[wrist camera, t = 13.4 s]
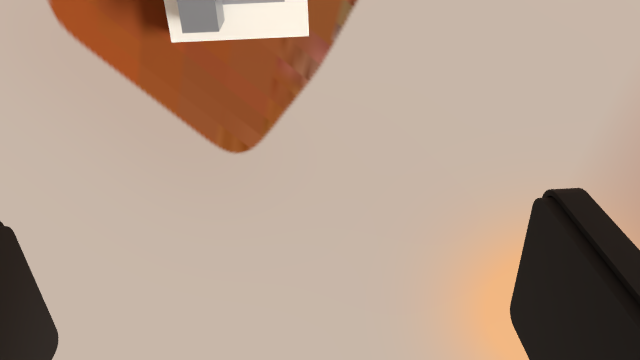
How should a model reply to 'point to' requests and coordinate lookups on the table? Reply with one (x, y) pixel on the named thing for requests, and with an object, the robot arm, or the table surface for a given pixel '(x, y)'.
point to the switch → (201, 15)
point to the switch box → (247, 20)
